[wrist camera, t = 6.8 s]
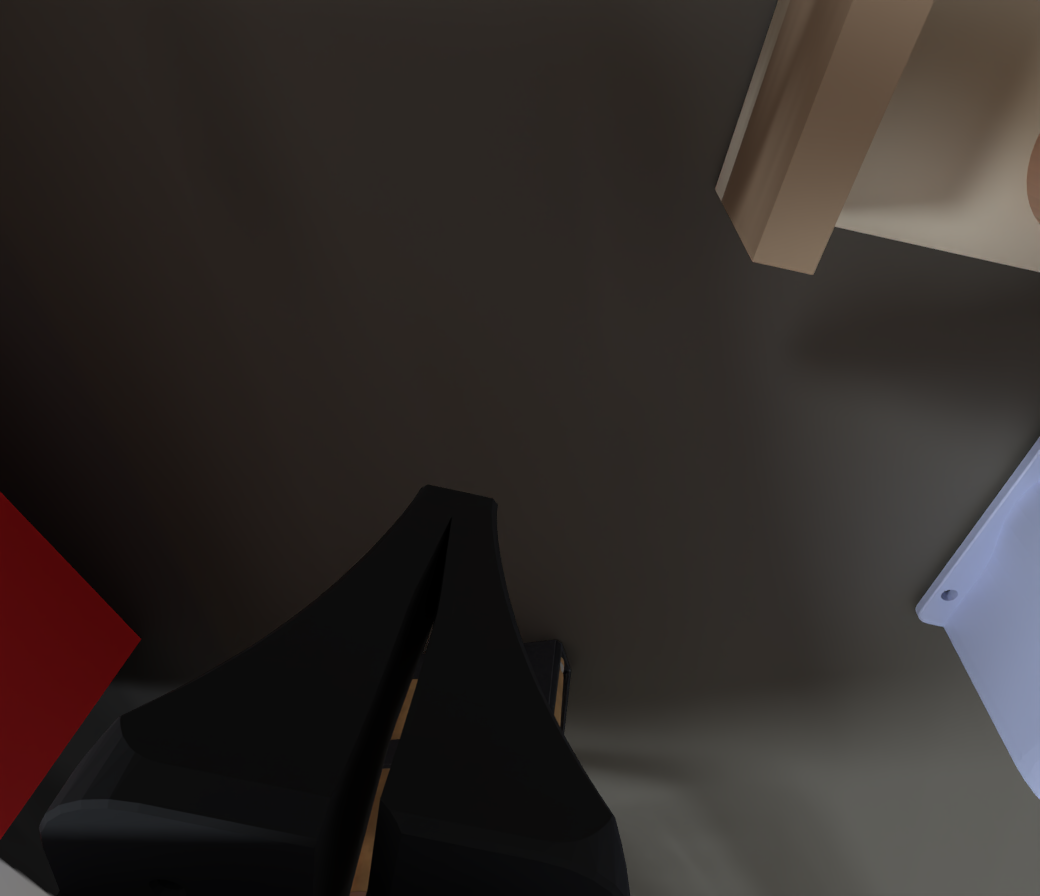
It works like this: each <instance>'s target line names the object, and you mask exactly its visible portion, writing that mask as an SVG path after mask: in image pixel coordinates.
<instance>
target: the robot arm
mask: <svg viewBox="0 0 1040 896" xmlns="http://www.w3.org/2000/svg"><path fill="white" fill-rule="evenodd" d="M497 506H498V505H497V503H496V502H495V501H494V499H493V498H488V497H484V496H479V495H474V494H470V493H465V492H460V491H455V490H451V489H446V488H441V487H437V486H432V485H426V486H424V487H422V488H421V489H420V491H419V492H418V494H417V495H416V497H415V498H414V500H413V501H412V502H411V504H410V505H409V506H408V508H407V509H406V510H405V511H404V513H403V514H402V515H401V516H400V518H399V519H398V520H397V521H396V522H395V523H394V525H393V526H392V527H391V528H390V529H389V530H388V531H387V532H386V534H385V535H384V536H383V537H382V538H381V539H380V540H379V541H378V542H377V543H376V544H375V545H374V546H373V547H372V549H371V550H370V551H369V552H368V553H367V554H366V555H365V556H364V557H363V558H362V559H361V560H359V561H358V562H357V563H356V564H355V565H354V566H353V567H352V568H351V569H350V570H349V571H348V572H347V573H346V574H345V575H343V576H342V577H341V578H340V579H339V580H338V581H337V582H336V583H335V584H334V585H332V586H331V587H330V588H329V589H328V590H327V591H325V592H324V593H323V594H322V595H321V596H319V597H318V598H317V599H316V600H315V601H313V602H312V603H311V604H309V605H308V606H307V607H306V608H304V609H303V610H302V611H300V612H299V613H298V614H297V615H295V616H294V617H293V618H291V619H290V620H288V621H287V622H286V623H284V624H283V625H281V626H280V627H278V628H277V629H276V630H274V631H273V632H271V633H270V634H268V635H267V636H266V637H264V638H263V639H261V640H260V641H258V642H257V643H255V644H254V645H252V646H250V647H249V648H247V649H246V650H244V651H243V652H241V653H239V654H237V655H236V656H234V657H232V658H231V659H229V660H227V661H225V662H224V663H222V664H220V665H219V666H217V667H215V668H213V669H212V670H210V671H208V672H207V673H205V674H203V675H201V676H200V677H198V678H196V679H194V680H193V681H191V682H189V683H187V684H185V685H183V686H181V687H179V688H177V689H175V690H173V691H171V692H169V693H167V694H165V695H163V696H161V697H159V698H157V699H155V700H153V701H151V702H149V703H147V704H144V705H142V706H140V707H138V708H136V709H134V710H132V711H130V712H128V713H126V714H124V715H121V716H119V717H118V718H117V719H116V720H115V722H114V723H113V724H112V725H111V726H110V727H109V728H108V729H107V731H106V732H105V733H104V734H103V735H102V736H101V737H100V739H99V740H98V741H97V742H96V744H95V745H94V746H93V747H92V748H91V749H90V751H89V752H88V753H87V754H86V755H85V756H84V758H83V759H82V760H81V761H80V763H79V764H78V766H77V767H76V769H75V770H74V771H73V773H72V774H71V776H70V777H69V779H68V780H67V782H66V783H65V785H64V786H63V788H62V789H61V791H60V792H59V794H58V795H57V797H56V798H55V800H54V801H53V803H52V804H51V806H50V807H49V809H48V811H47V812H46V814H45V815H44V817H43V819H42V821H41V823H40V825H39V829H40V837H41V842H42V846H43V849H44V851H45V854H46V856H47V859H48V861H49V864H50V867H51V869H52V872H53V874H54V877H55V879H56V882H57V884H58V887H59V889H60V891H59V893H58V895H57V896H349V895H350V891H351V887H352V884H353V880H354V876H355V872H356V868H357V864H358V860H359V856H360V852H361V849H362V845H363V841H364V837H365V833H366V830H367V826H368V822H369V818H370V814H371V810H372V807H373V803H374V799H375V795H376V792H377V788H378V784H379V780H380V777H381V773H382V769H383V765H384V762H385V758H386V754H387V750H388V747H389V744H390V741H391V737H392V734H393V731H394V728H395V725H396V722H397V720H398V717H399V714H400V711H401V709H402V706H403V703H404V701H405V698H406V695H407V692H408V690H409V687H410V684H411V682H412V679H413V676H414V673H415V671H416V668H417V665H418V662H419V660H420V657H421V654H422V652H423V649H424V646H425V643H426V641H427V638H428V635H429V632H430V630H431V627H432V624H433V621H434V624H433V630H432V633H431V637H430V640H429V644H428V647H427V651H426V654H425V657H424V661H423V664H422V667H421V671H420V674H419V677H418V681H417V684H416V688H415V691H414V694H413V697H412V701H411V704H410V707H409V710H408V714H407V717H406V720H405V723H404V727H403V730H402V733H401V736H400V739H399V742H398V745H397V749H396V752H395V755H394V758H393V761H392V764H391V767H390V770H389V773H388V776H387V779H386V782H385V785H384V788H383V791H382V794H381V797H380V802H379V810H378V817H377V824H376V831H375V839H374V846H373V853H372V860H371V868H370V875H369V882H368V889H367V892H366V896H630V890H629V882H628V875H627V868H626V863H625V858H624V853H623V848H622V844H621V839H620V835H619V831H618V827H617V824H616V820H615V817H614V815H613V814H612V812H611V811H610V809H609V808H608V806H607V805H606V803H605V802H604V800H603V799H602V797H601V796H600V794H599V793H598V791H597V790H596V788H595V786H594V785H593V783H592V782H591V780H590V779H589V777H588V775H587V774H586V772H585V771H584V769H583V767H582V766H581V764H580V762H579V760H578V759H577V757H576V755H575V753H574V752H573V750H572V748H571V746H570V745H569V743H568V741H567V739H566V738H565V736H564V734H563V732H562V730H561V728H560V726H559V724H558V722H557V720H556V718H555V716H554V714H553V712H552V710H551V708H550V706H549V704H548V702H547V700H546V698H545V696H544V694H543V691H542V689H541V687H540V684H539V682H538V680H537V677H536V675H535V673H534V670H533V668H532V665H531V663H530V660H529V658H528V655H527V652H526V650H525V647H524V644H523V641H522V639H521V636H520V633H519V629H518V626H517V623H516V620H515V616H514V613H513V610H512V606H511V603H510V599H509V595H508V591H507V587H506V582H505V577H504V572H503V568H502V563H501V557H500V551H499V543H498V534H497ZM947 590H950V591H948V592H944V591H947ZM915 609H916V613H917V615H918V617H919V619H920V620H921V621H922V622H924V623H927V624H931V625H936V626H941V627H944V629H945V631H946V633H947V635H948V636H949V638H950V640H951V642H952V644H953V646H954V648H955V650H956V652H957V654H958V656H959V658H960V660H961V661H962V663H963V665H964V667H965V669H966V671H967V673H968V675H969V677H970V679H971V681H972V683H973V685H974V686H975V688H976V690H977V692H978V694H979V696H980V698H981V700H982V702H983V704H984V706H985V708H986V710H987V711H988V713H989V715H990V717H991V719H992V721H993V723H994V725H995V727H996V729H997V731H998V733H999V735H1000V736H1001V738H1002V740H1003V742H1004V744H1005V746H1006V748H1007V750H1008V752H1009V754H1010V756H1011V758H1012V760H1013V761H1014V763H1015V765H1016V767H1017V769H1018V770H1019V772H1020V774H1021V775H1022V777H1023V778H1024V780H1025V781H1026V783H1027V784H1028V785H1029V787H1030V788H1031V789H1032V791H1033V792H1034V793H1035V795H1036V796H1037V797H1038V798H1039V799H1040V437H1039V438H1038V440H1037V441H1036V442H1035V444H1034V445H1033V447H1032V448H1031V449H1030V451H1029V452H1028V453H1027V455H1026V456H1025V458H1024V459H1023V460H1022V462H1021V463H1020V464H1019V466H1018V467H1017V468H1016V470H1015V471H1014V473H1013V474H1012V475H1011V477H1010V478H1009V479H1008V481H1007V482H1006V484H1005V485H1004V486H1003V488H1002V489H1001V490H1000V492H999V493H998V494H997V496H996V497H995V499H994V500H993V501H992V503H991V504H990V505H989V507H988V508H987V510H986V511H985V512H984V514H983V515H982V516H981V518H980V519H979V521H978V522H977V523H976V525H975V526H974V527H973V529H972V530H971V531H970V533H969V534H968V536H967V537H966V538H965V540H964V541H963V542H962V544H961V545H960V547H959V548H958V549H957V551H956V552H955V553H954V555H953V556H952V558H951V559H950V560H949V562H948V563H947V564H946V566H945V567H944V568H943V570H942V571H941V573H940V574H939V575H938V577H937V578H936V579H935V581H934V582H933V584H932V585H931V586H930V588H929V589H928V590H927V592H926V593H925V595H924V596H923V597H922V599H921V600H920V601H919V603H918V604H917V606H916V608H915Z"/></svg>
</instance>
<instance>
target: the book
mask: <svg viewBox="0 0 1040 896" xmlns="http://www.w3.org/2000/svg"><path fill="white" fill-rule="evenodd" d="M140 640H141V638H140V637H139V636H138V635H137V634H136V633H135V632H134V631H133V630H132V629H131V628H130V627H129V626H128V625H127V624H126V623H125V622H124V621H123V620H122V618H121V617H120V616H119V615H118V614H117V613H116V612H115V611H114V610H113V609H112V608H111V607H110V606H109V605H108V604H107V603H106V602H105V601H104V600H103V599H102V598H101V597H100V595H99V594H98V593H97V592H96V591H95V590H94V589H93V588H92V587H91V586H90V585H89V584H88V583H87V582H86V581H85V580H84V579H83V578H82V577H81V576H80V575H79V574H78V572H77V571H76V570H75V569H74V568H73V567H72V566H71V565H70V564H69V563H68V562H67V561H66V560H65V559H64V558H63V557H62V556H61V555H60V554H59V553H58V552H57V551H56V549H55V548H54V547H53V546H52V545H51V544H50V543H49V542H48V541H47V540H46V539H45V538H44V537H43V536H42V535H41V534H40V533H39V532H38V531H37V530H36V529H35V528H34V526H33V525H32V524H31V523H30V522H29V521H28V520H27V519H26V518H25V517H24V516H23V515H22V514H21V513H20V512H19V511H18V510H17V509H16V508H15V507H14V506H13V505H12V503H11V502H10V501H9V500H8V499H7V498H6V497H5V496H4V495H3V494H2V493H1V492H0V839H1V838H2V836H3V835H4V833H5V832H6V831H7V829H8V828H9V826H10V825H11V824H12V822H13V821H14V819H15V818H16V816H17V815H18V814H19V812H20V811H21V809H22V808H23V807H24V805H25V804H26V802H27V801H28V799H29V798H30V797H31V795H32V794H33V792H34V791H35V789H36V788H37V787H38V785H39V784H40V782H41V781H42V780H43V778H44V777H45V775H46V774H47V772H48V771H49V770H50V768H51V767H52V765H53V764H54V762H55V761H56V760H57V758H58V757H59V755H60V754H61V753H62V751H63V750H64V748H65V747H66V745H67V744H68V743H69V741H70V740H71V738H72V737H73V735H74V734H75V733H76V731H77V730H78V728H79V727H80V726H81V724H82V723H83V721H84V720H85V718H86V717H87V716H88V714H89V713H90V711H91V710H92V708H93V707H94V706H95V704H96V703H97V701H98V700H99V699H100V697H101V696H102V694H103V693H104V691H105V690H106V689H107V687H108V686H109V684H110V683H111V682H112V680H113V679H114V677H115V676H116V674H117V673H118V672H119V670H120V669H121V667H122V666H123V664H124V663H125V662H126V660H127V659H128V657H129V656H130V655H131V653H132V652H133V650H134V649H135V647H136V646H137V645H138V643H139V642H140Z"/></svg>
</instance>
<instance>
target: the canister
mask: <svg viewBox="0 0 1040 896" xmlns="http://www.w3.org/2000/svg"><path fill="white" fill-rule="evenodd" d="M1027 195H1028V200H1029V205H1030V207H1031V210H1032V212H1033V215H1034V216H1035V218H1036V219H1037V221H1038V223H1039V224H1040V134H1039V136H1038V138H1037V140H1036V142H1035V145H1034V148H1033V150H1032V153H1031V157H1030V161H1029V165H1028V171H1027Z"/></svg>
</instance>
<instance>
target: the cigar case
mask: <svg viewBox="0 0 1040 896" xmlns="http://www.w3.org/2000/svg"><path fill="white" fill-rule="evenodd" d="M523 644H524V647H525V650H526V652H527V655H528V658H529V660H530V663H531V665H532V668H533V670H534V673H535V675H536V677H537V680H538V682H539V684H540V687H541V689H542V691H543V694H544V696H545V698H546V700H547V702H548V704H549V706H550V708H551V710H552V712H553V714H554V716H555V718H556V720H557V722H558V724H559V726H560V728H561V730H562V732H563V734H564V730H565V721H566V712H567V703H568V694H569V685H570V676H571V669H570V666H569V663H568V660H567V657H566V654H565V652H564V649H563V646H562V643H560V642H558V641H557V640H549V641H540V642H531V643H523ZM424 657H425V654H421V657H420V660H419V662H418V665H417V668H416V671H415V673H414V676H413V679H412V682H411V684H410V687H409V690H408V692H407V695H406V698H405V701H404V703H403V706H402V709H401V711H400V714H399V717H398V720H397V722H396V725H395V728H394V731H393V734H392V737H391V741H390V744H389V747H388V750H387V754H386V758H385V762H384V765H383V769H382V773H381V777H380V780H379V784H378V788H377V792H376V795H375V799H374V803H373V807H372V810H371V814H370V818H369V822H368V826H367V830H366V833H365V837H364V841H363V845H362V849H361V852H360V856H359V860H358V864H357V868H356V872H355V876H354V880H353V884H352V887H351V891H350V895H349V896H366V892H367V889H368V882H369V875H370V868H371V860H372V853H373V846H374V839H375V831H376V824H377V817H378V810H379V802H380V797H381V794H382V791H383V788H384V785H385V782H386V779H387V776H388V773H389V770H390V767H391V764H392V761H393V758H394V755H395V752H396V749H397V745H398V742H399V739H400V736H401V733H402V730H403V727H404V723H405V720H406V717H407V714H408V710H409V707H410V704H411V701H412V697H413V694H414V691H415V688H416V684H417V681H418V677H419V674H420V671H421V667H422V664H423V661H424Z"/></svg>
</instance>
